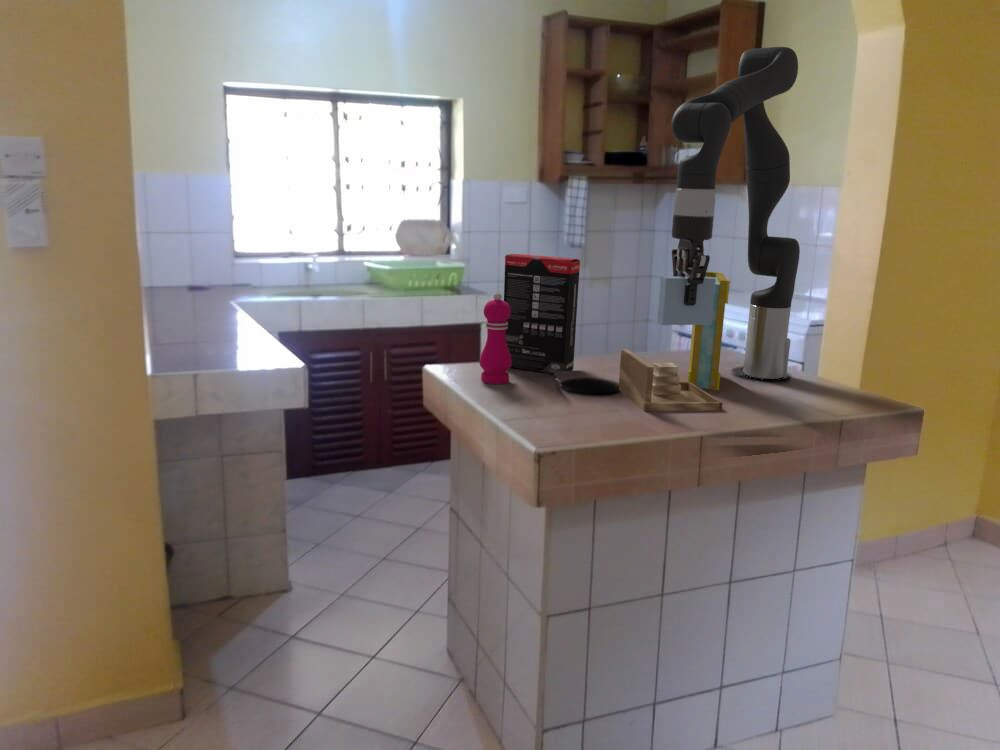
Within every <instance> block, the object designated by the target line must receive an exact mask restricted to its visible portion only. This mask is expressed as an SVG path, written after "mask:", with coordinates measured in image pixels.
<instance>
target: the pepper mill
mask: <svg viewBox="0 0 1000 750" xmlns="http://www.w3.org/2000/svg"><path fill="white" fill-rule="evenodd" d="M502 296H503V295H502V294H501V293H500V292H495V293H494V295H493V299H491V300H489V301H488V302H487V303H485V305H484V307H483V315H484V318H486V321H485V328H486V329H487V330H486V333H487V336H486V342H485V345H484V347H483V349H482V351H481V354H480V356H479V366H480V367H481V369H482V370H483V371H482V372H481V374H480V375H481V376H480V380H481V382H483V383H484V382H485V384H488V383H490V385H503V384H504V385H505V384H507V383H509V381H510V373H509V372H508V370H509V369H511V368H512V367H511V365H512V359H511V355H510V352H509V349H508V347H507V344H506V335H505V334H506V329H507V328H508V325H507V324H508V322H506V321H507V319H508V318H509V317H510V314H511V309H510V306H509V304H508V303H507V302H505V301H504V299H502Z"/></svg>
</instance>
